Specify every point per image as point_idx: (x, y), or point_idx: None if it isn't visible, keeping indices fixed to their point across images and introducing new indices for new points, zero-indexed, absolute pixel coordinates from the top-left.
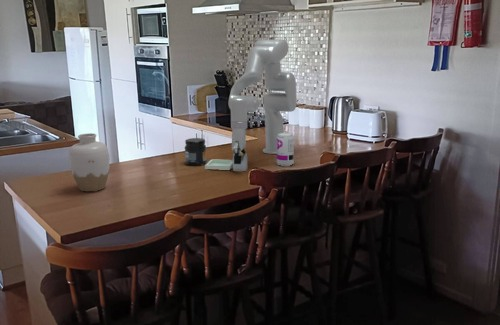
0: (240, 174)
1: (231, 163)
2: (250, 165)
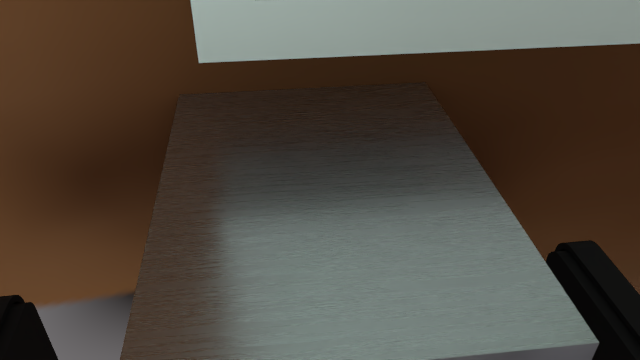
0: (43, 252)
1: (486, 28)
2: (618, 247)
